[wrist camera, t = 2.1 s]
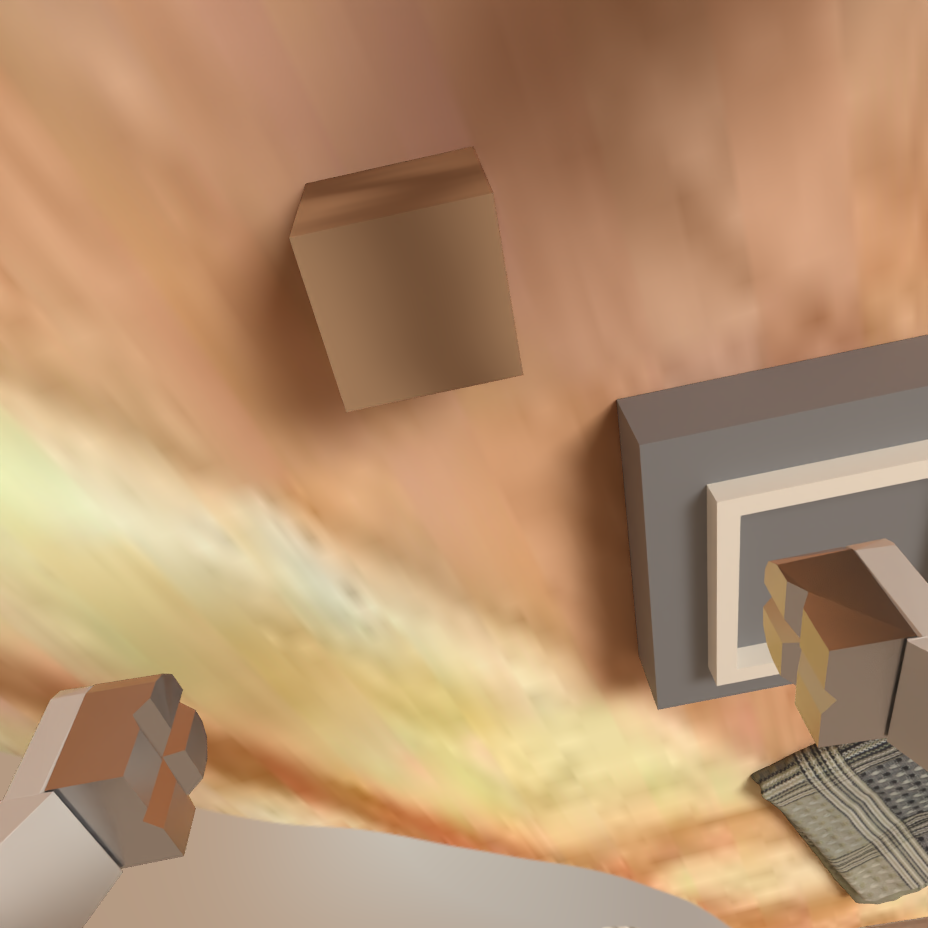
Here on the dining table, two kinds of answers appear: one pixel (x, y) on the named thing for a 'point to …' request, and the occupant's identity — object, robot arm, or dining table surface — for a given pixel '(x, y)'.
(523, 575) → the dining table surface
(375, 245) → the walnut block
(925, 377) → the plinth
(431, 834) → the dining table surface
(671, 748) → the dining table surface
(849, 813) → the dish towel
